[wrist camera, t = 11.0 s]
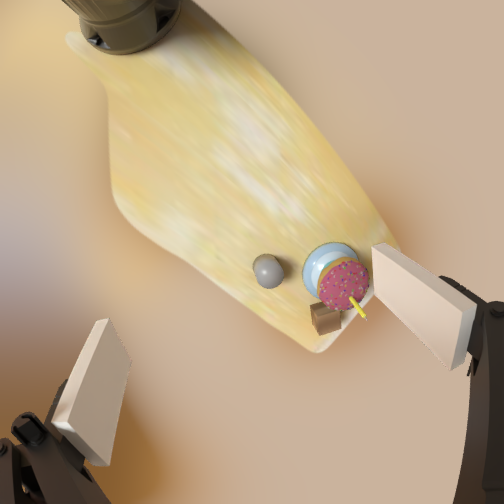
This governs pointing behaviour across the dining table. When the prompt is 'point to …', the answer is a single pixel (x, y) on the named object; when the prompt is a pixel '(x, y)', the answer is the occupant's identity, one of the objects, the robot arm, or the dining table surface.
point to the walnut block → (325, 318)
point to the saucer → (322, 262)
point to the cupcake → (343, 284)
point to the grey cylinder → (268, 271)
